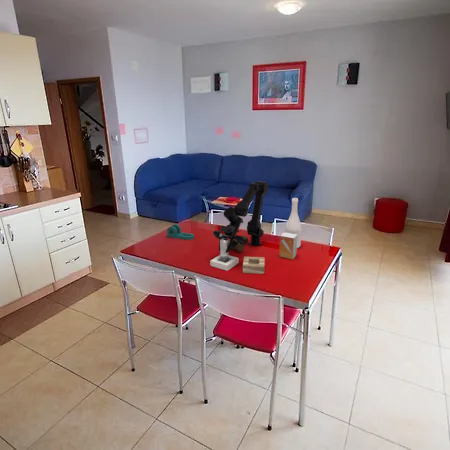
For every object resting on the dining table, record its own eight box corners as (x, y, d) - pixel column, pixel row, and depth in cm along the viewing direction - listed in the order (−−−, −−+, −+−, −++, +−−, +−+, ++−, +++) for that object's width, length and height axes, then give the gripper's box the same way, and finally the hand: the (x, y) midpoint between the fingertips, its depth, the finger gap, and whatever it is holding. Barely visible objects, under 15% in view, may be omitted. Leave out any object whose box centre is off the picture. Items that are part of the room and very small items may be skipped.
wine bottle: (296, 250, 187) (299, 201, 177) (282, 246, 193) (284, 199, 183) (303, 245, 195) (306, 197, 185) (289, 241, 200) (291, 195, 190)
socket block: (244, 263, 173) (244, 256, 171) (264, 264, 171) (264, 257, 170) (242, 272, 162) (242, 265, 161) (264, 273, 161) (264, 266, 160)
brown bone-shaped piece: (251, 244, 199) (236, 255, 182) (238, 242, 203) (222, 253, 187) (251, 235, 197) (236, 246, 180) (238, 233, 202) (222, 243, 185)
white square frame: (222, 258, 179) (222, 253, 178) (238, 262, 173) (238, 258, 172) (210, 265, 171) (210, 260, 170) (227, 270, 165) (227, 265, 164)
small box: (279, 256, 179) (279, 235, 175) (282, 252, 185) (283, 232, 180) (292, 259, 176) (294, 238, 171) (296, 255, 181) (297, 234, 176)
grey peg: (221, 259, 174) (220, 237, 170) (229, 260, 173) (228, 238, 169) (219, 263, 170) (219, 241, 166) (227, 263, 169) (227, 241, 165)
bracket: (167, 237, 212) (166, 226, 210) (172, 234, 218) (171, 223, 215) (191, 240, 206) (190, 229, 203) (195, 237, 212) (195, 226, 209)
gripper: (213, 216, 172) (202, 241, 167) (242, 222, 162) (231, 249, 157) (222, 225, 181) (211, 250, 176) (250, 231, 170) (239, 257, 166)
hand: (222, 251), depth 168 cm, fingers closed on grey peg, 4 cm apart
